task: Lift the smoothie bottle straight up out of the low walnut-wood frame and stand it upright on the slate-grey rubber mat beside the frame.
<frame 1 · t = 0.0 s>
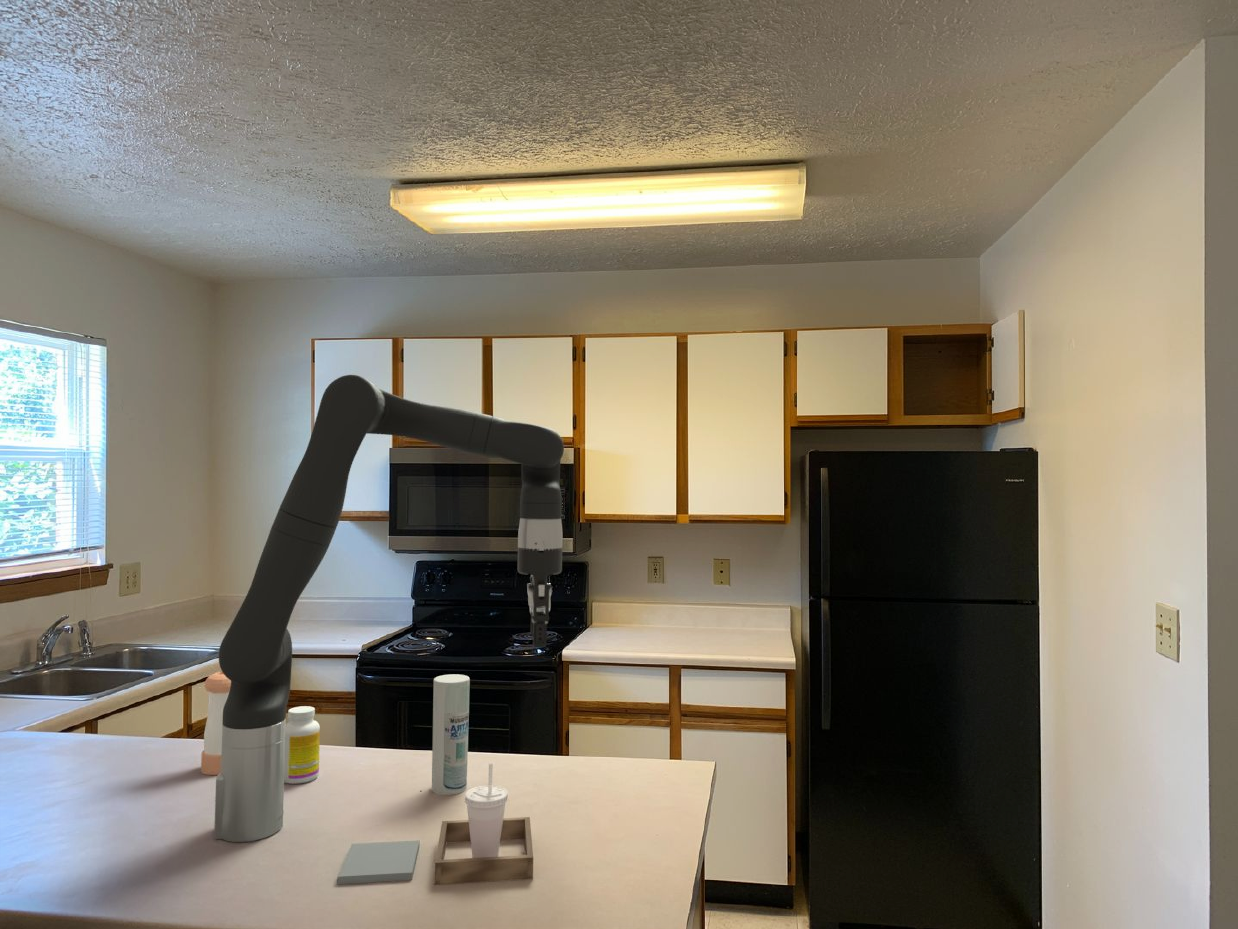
hand: (538, 641, 131), 29 cm above the countertop, tool pointing down, fingers open, 8 cm apart
frame: (485, 859, 115), on the countertop
salt shaker: (222, 769, 150), on the countertop
mat: (380, 864, 113), on the countertop
supplement bottle: (299, 779, 146), on the countertop
spray can: (449, 789, 142), on the countertop
smoothie: (485, 860, 115), resting in frame
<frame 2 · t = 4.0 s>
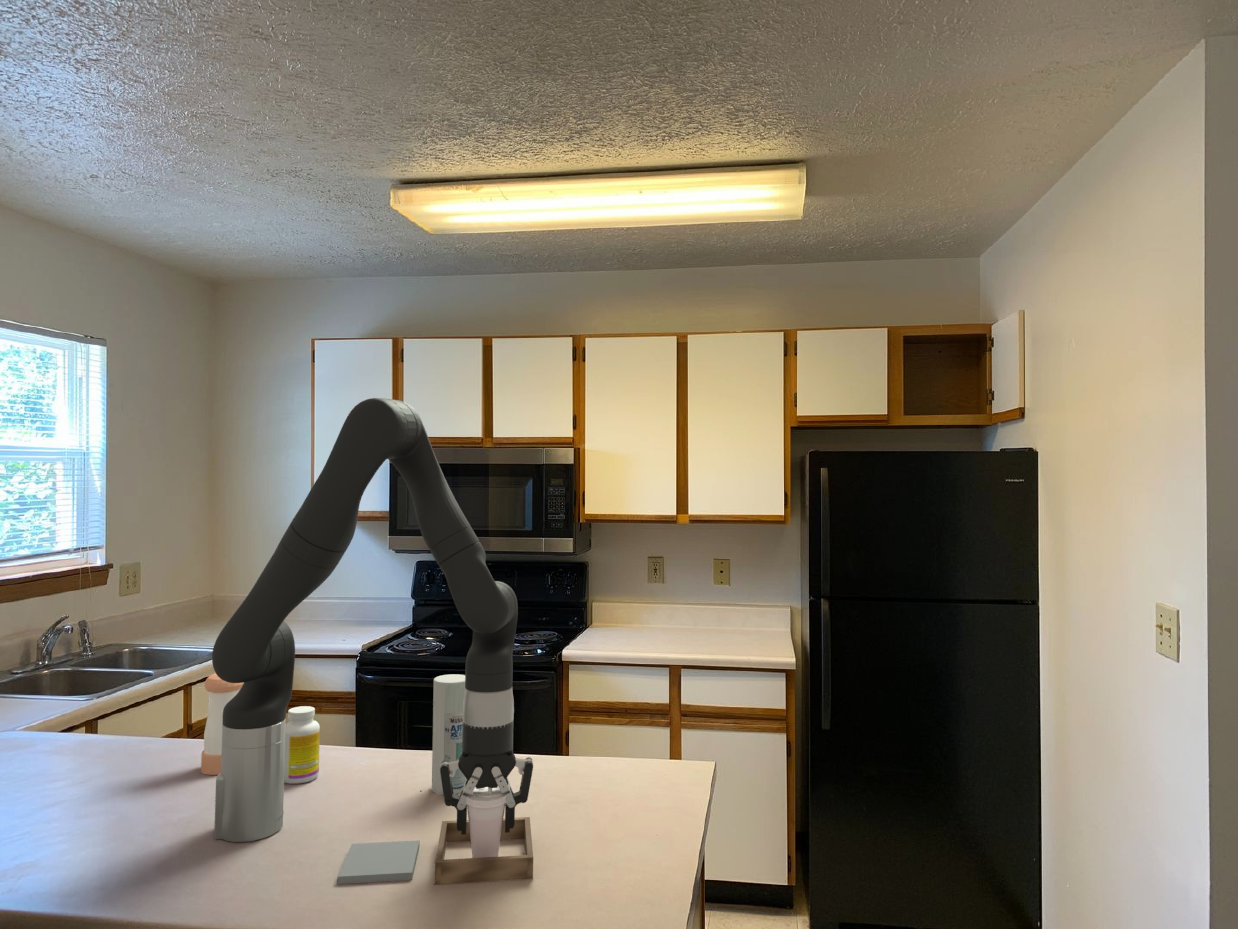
hand: (485, 831, 116), 4 cm above the countertop, tool pointing down, fingers closed on smoothie, 5 cm apart
smoothie: (485, 860, 115), resting in frame, touching gripper
everything else where it was.
when the fingers open (6 cm above the countertop, at t = 11.2 s): smoothie drops 1 cm, resting on mat.
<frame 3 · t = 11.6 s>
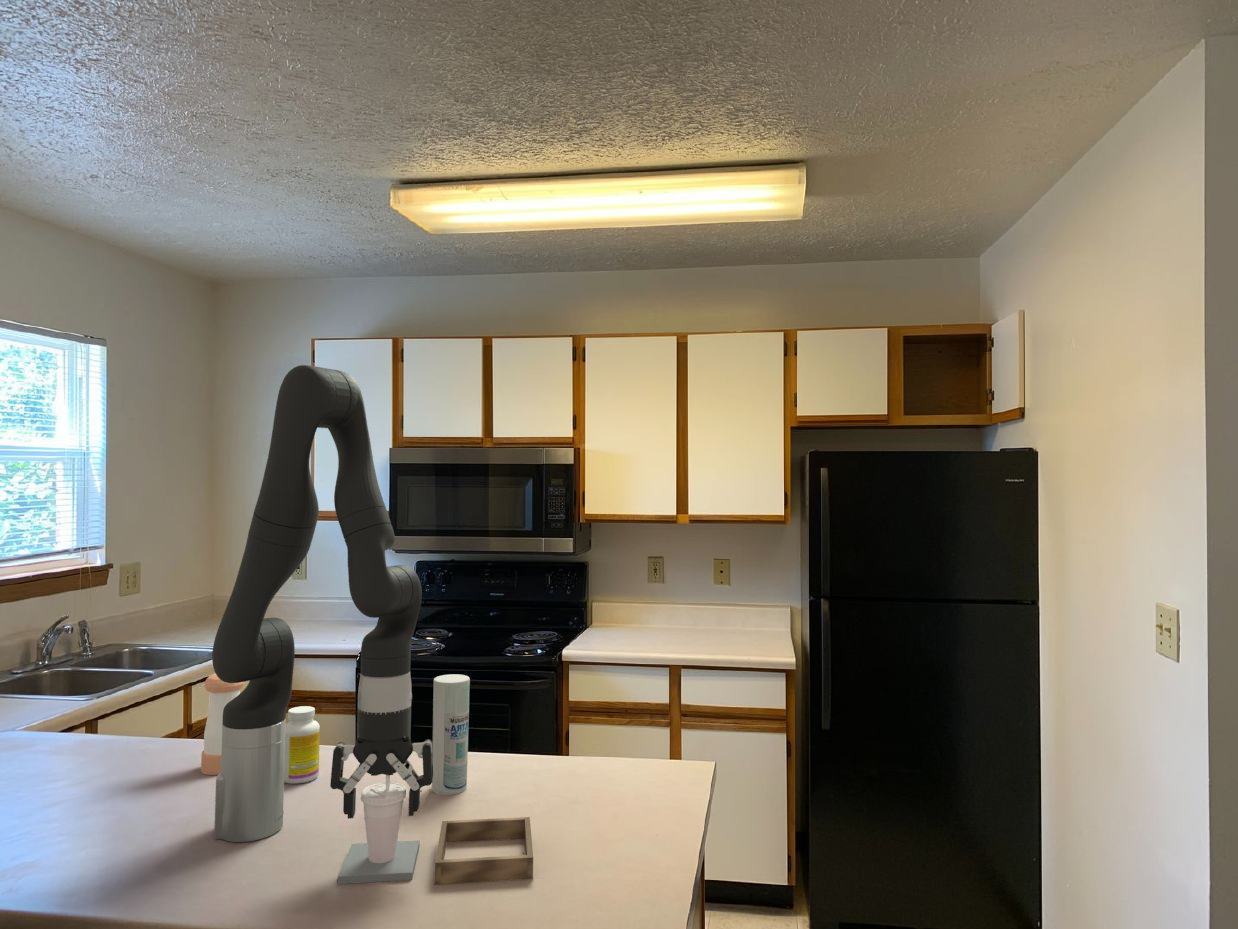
hand: (381, 815, 113), 7 cm above the countertop, tool pointing down, fingers open, 8 cm apart
smoothie: (381, 858, 113), point 1 cm above the countertop, touching mat
everything else where it was.
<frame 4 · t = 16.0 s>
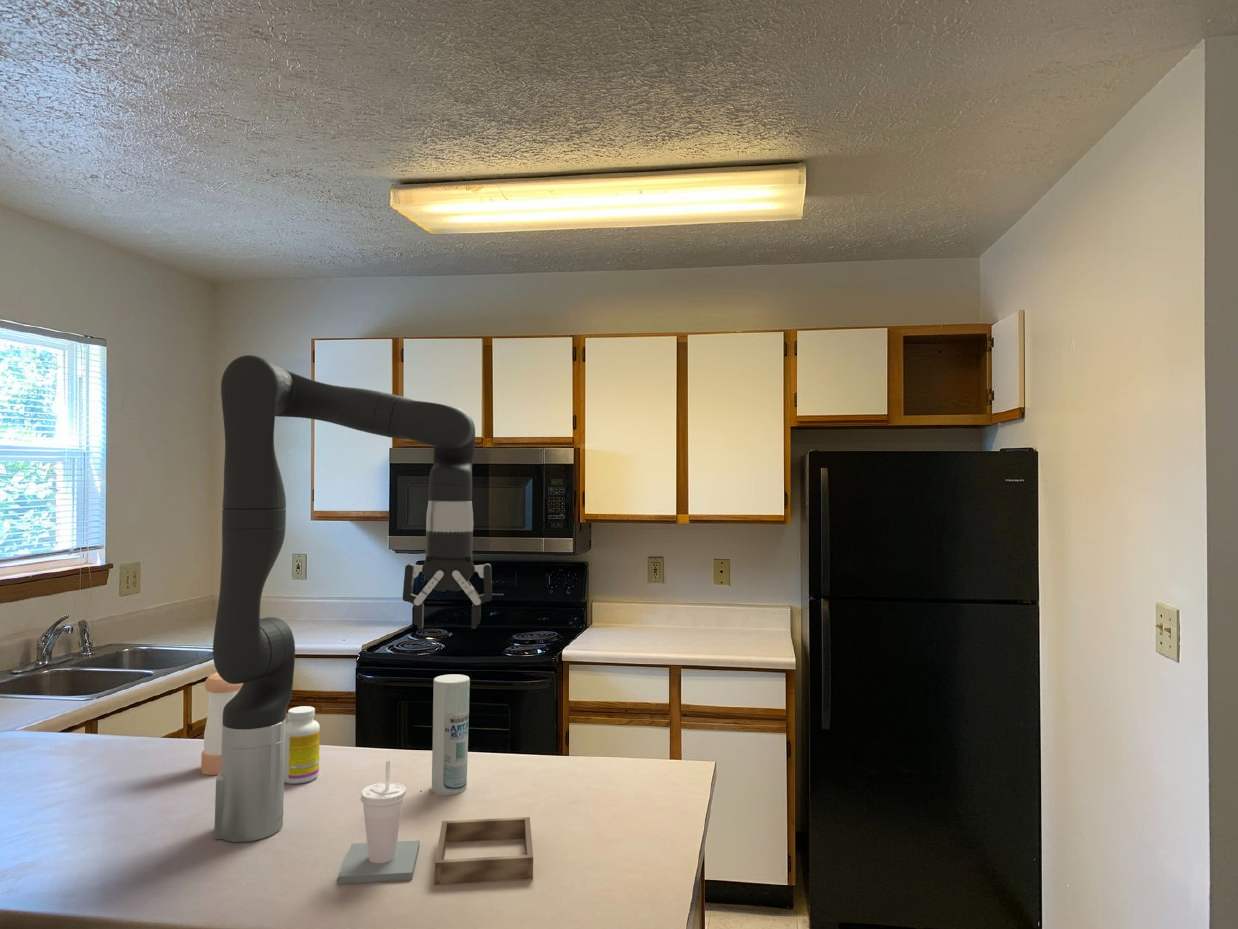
hand: (447, 627, 127), 32 cm above the countertop, tool pointing down, fingers open, 8 cm apart
nothing on the countertop moved.
at the end: smoothie inside the target area (0.1 cm from its centre), point 0.8 cm above the countertop; smoothie tilted 0°; the gripper is holding nothing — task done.
